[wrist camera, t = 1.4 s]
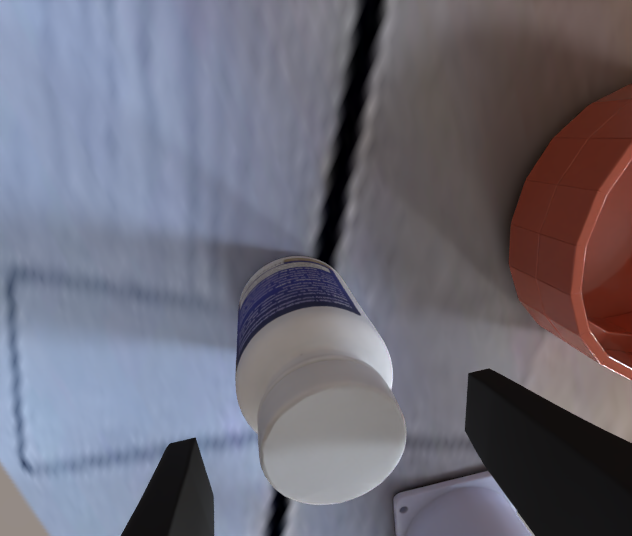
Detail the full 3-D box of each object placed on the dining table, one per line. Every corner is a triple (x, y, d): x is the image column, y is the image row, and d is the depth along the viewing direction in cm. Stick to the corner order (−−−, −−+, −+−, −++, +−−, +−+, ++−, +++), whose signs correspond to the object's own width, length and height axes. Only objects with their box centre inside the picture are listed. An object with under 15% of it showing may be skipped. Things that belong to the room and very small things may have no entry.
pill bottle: (214, 310, 18) (185, 462, 9) (295, 230, 17) (341, 317, 9) (294, 375, 20) (329, 551, 11) (371, 304, 19) (467, 434, 11)
